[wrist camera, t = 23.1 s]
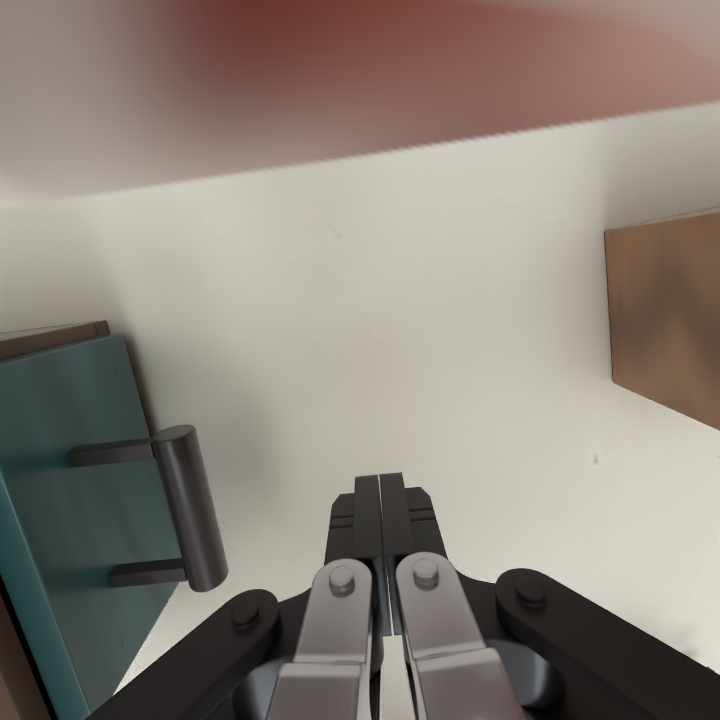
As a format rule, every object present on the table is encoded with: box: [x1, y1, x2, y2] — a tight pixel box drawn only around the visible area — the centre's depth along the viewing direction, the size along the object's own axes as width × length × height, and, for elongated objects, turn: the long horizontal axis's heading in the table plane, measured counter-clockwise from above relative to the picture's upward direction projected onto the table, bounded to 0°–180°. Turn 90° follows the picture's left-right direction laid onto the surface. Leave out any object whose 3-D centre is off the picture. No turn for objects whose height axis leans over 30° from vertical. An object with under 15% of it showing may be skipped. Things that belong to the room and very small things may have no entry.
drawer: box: [0, 334, 228, 720], centre depth 15 cm, size 15×12×7 cm
